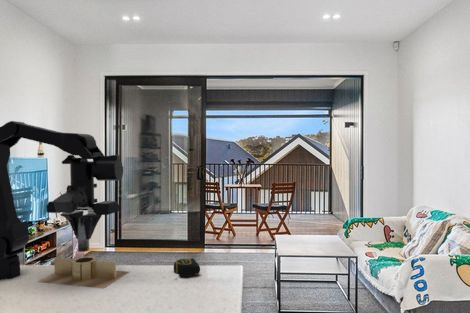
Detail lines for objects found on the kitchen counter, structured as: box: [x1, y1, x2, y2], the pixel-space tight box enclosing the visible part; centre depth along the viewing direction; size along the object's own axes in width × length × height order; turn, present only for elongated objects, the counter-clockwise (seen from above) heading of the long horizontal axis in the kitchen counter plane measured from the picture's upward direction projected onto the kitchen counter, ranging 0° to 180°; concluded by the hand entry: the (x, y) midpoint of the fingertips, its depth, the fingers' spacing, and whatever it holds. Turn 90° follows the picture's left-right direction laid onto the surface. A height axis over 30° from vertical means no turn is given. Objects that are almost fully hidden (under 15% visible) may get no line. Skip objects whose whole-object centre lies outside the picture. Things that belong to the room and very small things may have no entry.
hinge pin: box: [77, 216, 90, 253], centre depth 96 cm, size 3×3×9 cm
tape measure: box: [173, 258, 201, 277], centre depth 100 cm, size 7×7×4 cm
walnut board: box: [36, 270, 130, 289], centre depth 96 cm, size 20×12×1 cm, turn 76°
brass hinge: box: [53, 255, 117, 281], centre depth 96 cm, size 19×6×4 cm, turn 76°
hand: (83, 239), depth 96 cm, fingers closed on hinge pin, 3 cm apart
